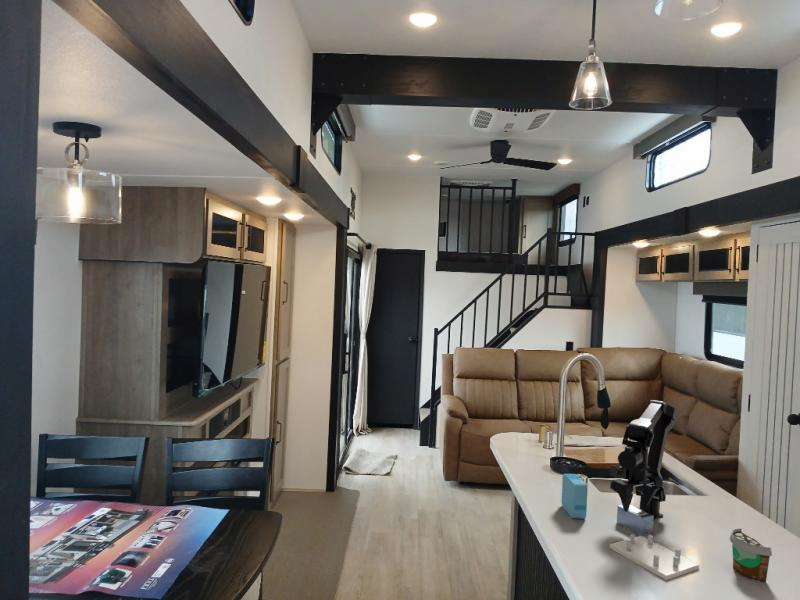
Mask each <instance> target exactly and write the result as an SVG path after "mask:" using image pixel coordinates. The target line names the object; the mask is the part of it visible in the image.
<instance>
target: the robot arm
mask: <svg viewBox="0 0 800 600" xmlns="http://www.w3.org/2000/svg"><path fill="white" fill-rule="evenodd" d="M678 416H679V413H678V410H677V409H676V408H675V407H674V406H672V405H669V404H667V402H665V401H661V400H656V399H655V400H654V399H651V400H650V401H649V403H648V406H647V407H646V409H645V410H644V412H643V413H642V414H641V415H640V417H639V418H637V419H633V420H631V422H629V423H628V424H627V426H626V428H625V432H624V434H623V438H622V442H621V445H623V446H625V447H624V450H623V451H621V452H620V453H619V454H618V456H617V461H618V464H619V465H618V464H613V465H610V467H609V473H610V476H613V477H614V478H618V479H613V480H611V481H610V484H609V485H610V487H609V488H610V490H612V491H613V492H615V493H617V494H618V496H619V498H620V501H621V505H623V509H624V511H626V512H628V509H629V507H630V504H631V503H632V500H633V498H634V493H633V492H634V489H635V496H639V497H640V500H639V509H641V510H643V511H646V512H648V513H650V514H652V515H654V518H653V520H654V519H658V518H662V517H664V514H663V513H660V512H661V511H660V507H661V503H663V502H666V500H667V499H666V497H667V495H666V494H667V490H666V488H665V485H664V479H663V477H662V474H661V467H662V461H663V457H664V452H665V448H666V443H667V442H666V441H667V437H668V434H669V433H668V432H669V431H671V429H673V428H674V427H675V424H676V421H677V420H678ZM619 477H622V478H619ZM631 505H632V504H631Z"/></svg>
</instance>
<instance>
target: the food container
mask: <svg viewBox="0 0 800 600" xmlns="http://www.w3.org/2000/svg"><path fill="white" fill-rule="evenodd" d="M729 541H730V542H731V543H732V544H731V545H732V547H731V549H732V569H733V571H734V570H735V571H734V572H735V573H737V575H739V576H741V577H744V578H746V579H749V580H752V581H756V582H761V583H762V582H763V583H767V577H768V571H769V570H768V569H769V565H770V564H769V562H770V558H771V557H772V556H773V554H772V551H773V550H772V548H771V547H769V546H768V547H767V546H763V545H762V544H761V543H760V542H759V541H758V540H757V539H755V538H753V537H751V536H749V535H747V534H745V533H744V532H742V528H735V529H733V530H732V531H731V533H730V535H729Z"/></svg>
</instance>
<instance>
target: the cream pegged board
mask: <svg viewBox="0 0 800 600" xmlns="http://www.w3.org/2000/svg"><path fill="white" fill-rule="evenodd" d="M609 549H611V550H612V551H614V552H616V553H618V554H619V555H621V556H623V557H625V559H626V558H627V559H628V560H630V561H632V562H633V563H635V564H636V565H639V566H641V567H642V568H645V569H646V570H648V571H650V572H651V573H653V574H655V575H657V576H658V577H660V578H662V579H664V580H666V581H668V580H670V579H671V580H672V579H673V578H676V577H680V576H682V575H685V574H687V573H691V572H695V571H696V570H699V569H700V564H698V563H696V562H694V561H693V560H691V559H688V558H686V557H684V556H683V555H681V552H682V551H681V549H680V548H675V549H674V551H673V550H671V549H668V548H667V547H665V546H663V545H661V544H659V543H657V542H654V536H653V535H651V534H648V535H647V537H646V536H641V535H638V536H636V534H634V533H630V534H629V538H627V539H624V540H621V541H617V542H613V543H610V544H609Z"/></svg>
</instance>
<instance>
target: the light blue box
mask: <svg viewBox="0 0 800 600" xmlns="http://www.w3.org/2000/svg"><path fill="white" fill-rule="evenodd" d="M587 485H588V484H587V483H586V482H585V481H584V480H583V479H582V478H581V477H580V476H579V475H577V474H576V473H563V474H562V484H561V487H562V488H561V506H562V508H563V510H564V511H566V513H567V514H568V515H569V516H570V518H572V519H579V520H581V519H586V518H587V508H588V507H587V505H588V489H589V488H588V486H587Z"/></svg>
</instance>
